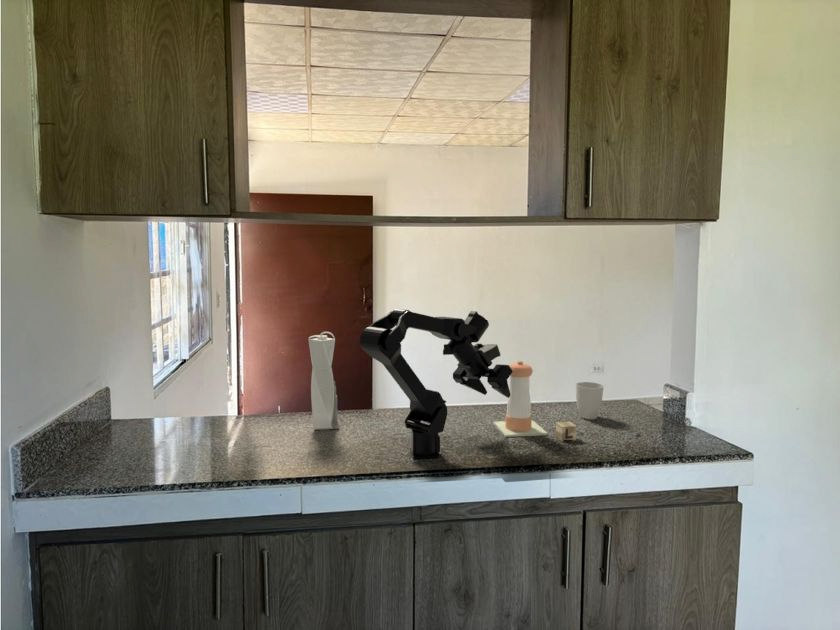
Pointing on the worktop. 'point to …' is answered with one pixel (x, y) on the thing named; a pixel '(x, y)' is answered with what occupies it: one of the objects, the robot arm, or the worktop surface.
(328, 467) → the worktop surface
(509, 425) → the pepper shaker
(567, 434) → the letter cube
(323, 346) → the skyscraper
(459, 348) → the robot arm
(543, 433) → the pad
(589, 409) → the cup
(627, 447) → the worktop surface
